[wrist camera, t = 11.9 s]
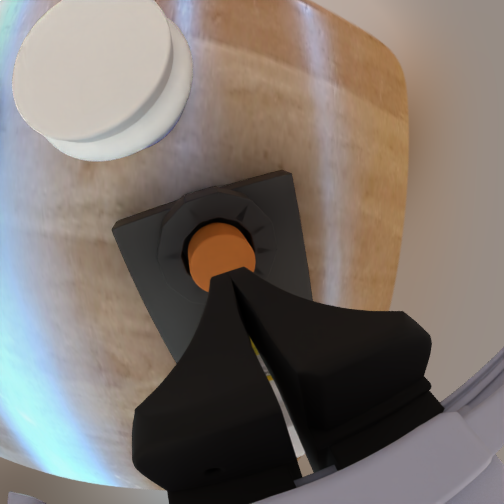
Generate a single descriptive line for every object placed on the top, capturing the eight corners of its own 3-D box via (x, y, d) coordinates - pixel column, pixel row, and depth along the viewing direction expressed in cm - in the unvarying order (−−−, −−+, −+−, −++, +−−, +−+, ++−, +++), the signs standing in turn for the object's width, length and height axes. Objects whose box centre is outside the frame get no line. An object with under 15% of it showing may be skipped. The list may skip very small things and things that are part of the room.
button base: (312, 344, 23) (328, 368, 20) (194, 384, 21) (199, 413, 19) (281, 162, 16) (302, 168, 14) (113, 214, 15) (101, 231, 12)
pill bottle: (71, 129, 12) (-40, 135, 4) (119, 42, 11) (67, -50, 3) (154, 167, 15) (125, 214, 6) (204, 81, 13) (248, 10, 5)
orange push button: (252, 267, 15) (262, 283, 14) (198, 285, 15) (201, 303, 13) (238, 214, 14) (247, 225, 13) (179, 233, 14) (180, 246, 12)
